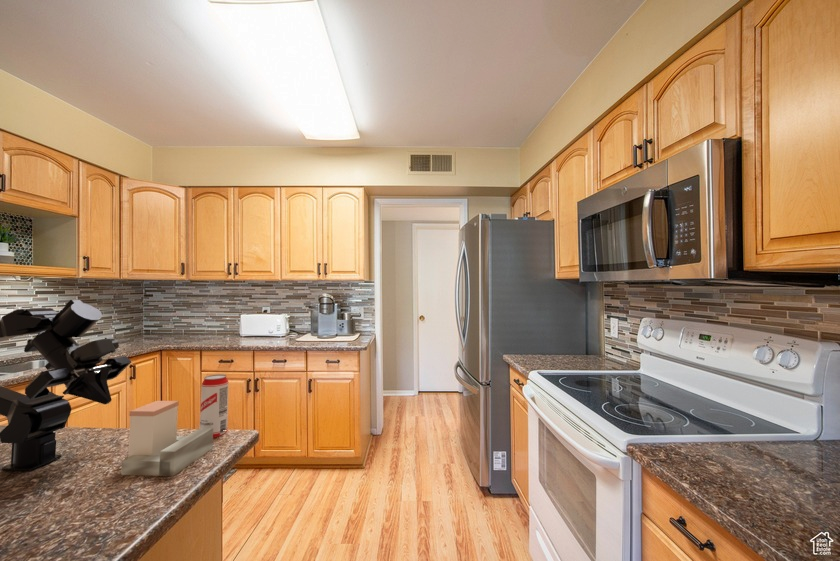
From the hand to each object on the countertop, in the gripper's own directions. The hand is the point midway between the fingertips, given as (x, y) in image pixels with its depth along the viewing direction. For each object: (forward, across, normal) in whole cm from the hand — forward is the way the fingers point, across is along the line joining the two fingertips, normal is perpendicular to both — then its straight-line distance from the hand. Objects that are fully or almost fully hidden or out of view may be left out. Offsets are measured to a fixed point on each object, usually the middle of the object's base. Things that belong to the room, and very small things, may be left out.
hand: (108, 402), depth 76 cm
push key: (+16, 0, +1) cm, 16 cm away
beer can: (+20, +15, 0) cm, 25 cm away
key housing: (+19, 0, +1) cm, 19 cm away
